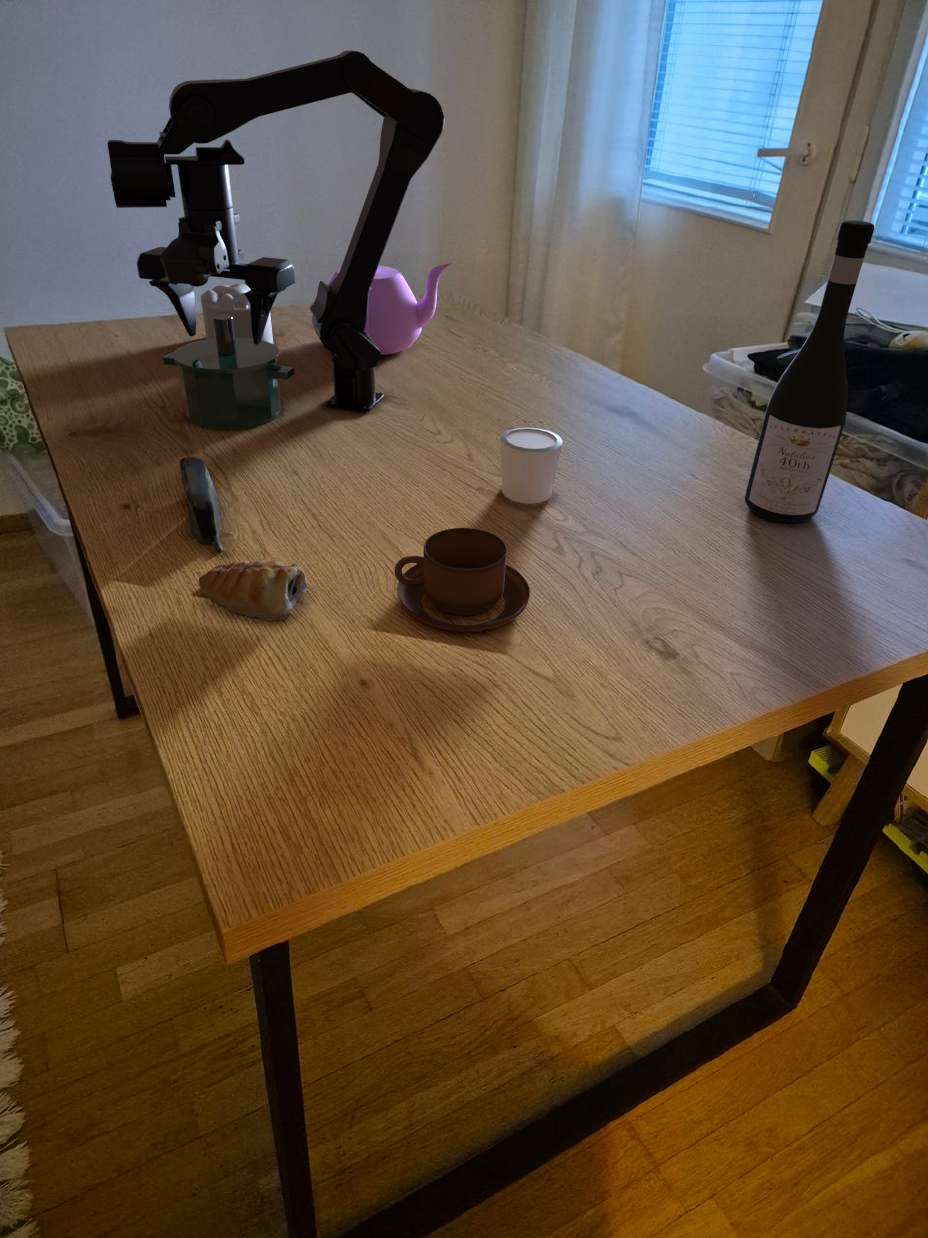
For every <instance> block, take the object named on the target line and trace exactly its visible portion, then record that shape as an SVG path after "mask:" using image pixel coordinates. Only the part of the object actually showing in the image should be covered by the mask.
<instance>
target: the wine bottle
mask: <svg viewBox="0 0 928 1238" xmlns="http://www.w3.org/2000/svg"><path fill="white" fill-rule="evenodd" d="M874 232H875V224H874V223H872V222H869V221H864V220H856V219H854V220H853V219H852V220H851V219H850V220H843V221H841V223H840V225H839V227H838V233H837V237H836V241H837V242H836V246H835V249H834V250H835V251H834V254H833V258H832V262H831V267H830V270H829V274H828V278H827V281H826V286H825V289H824V293H823V296H822V300H821V303H820V308H819V310H818V315H817V318H816V319H815V322H814V324H813V327H812V329H811V331H810V333H809V335H808V337H807V338H806V340H805V341H804V343H803V345H802V346H801V347H800V349H799V350H798V352H797V354H795V356H794V358H793V359H792V361H791V362H790V363H789V364H788V366H787V367H786V369H785V370H784V372H783V373H782V374H781V376H780V378H779V380H778V381H777V383H776V385H775V387H774V389H773V391H772V393H771V396H770V398H769V400H768V403H767V405H766V410H765V414H764V418H763V421H762V424H761V425H762V426H761V429H760V434H759V438H758V442H757V446H756V451H755V454H754V458H753V462H752V466H751V470H750V473H749V477H748V482H747V485H746V491H745V496H744V501H745V504H746V505H747V507H748V509H749V510H750V511H752V512H753V513H754V514H755V515H757V516H759V517H761V518H763V519H766V520H769V521H773V522H776V523H784V524H797V523H798V524H799V523H802V522H806V521H809V520H811V519H812V518H813V517H814V516H815V515H817V513H818V511H819V509H820V506H821V502H822V499H823V496H824V493H825V489H826V487H827V483H828V480H829V478H830V473H831V470H832V467H833V463H834V460H835V457H836V454H837V450H838V447H839V444H840V440H841V437H842V434H843V431H844V427H845V424H846V420H847V412H848V402H849V383H848V374H847V366H846V357H845V355H846V354H845V330H846V325H847V319H848V314H849V311H850V307H851V304H852V302H853V301H852V300H853V297H854V294H855V290H856V287H857V284H858V280H859V276H860V273H861V269H862V266H863V263H864V261H865V260H864V259H865V256H866V253H867V249H868V248H869V245H870V244H871V242H872V239H873V236H874Z"/></svg>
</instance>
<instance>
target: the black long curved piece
mask: <svg viewBox="0 0 928 1238" xmlns="http://www.w3.org/2000/svg"><path fill="white" fill-rule="evenodd" d="M179 467H180V474H181V480H182V486H183V493H184V495H185V500H186V504H187V510H188V511H187V512H188V515H189V516H188V518H189V523H190V528H191V529H190V530H191V532H192V535H193V537H194V538H195V539H196V540H197V541H198V542H199V543H201V544H202V545H203V544H210V545H212V546H213V547H214V550H215V552H216V553H217V554H218V553H219V554H220V553H223V551H224V549H223V547H222V544H221V542H220V535H221V530H220V522H221V521H220V520H221V514H220V508H219V501H218V500H219V499H218V495H217V492H216V488H215V486H214V482H213V481H212V479H211V476H210V473H209V470H208V467H207V465H206V463H205V461H204V460H203V459H202V458H199V457H196V456H187V457H182V458H180V460H179Z"/></svg>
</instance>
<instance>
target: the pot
mask: <svg viewBox="0 0 928 1238" xmlns="http://www.w3.org/2000/svg"><path fill="white" fill-rule="evenodd" d="M174 352H175V351H171V352H169V353H168V354H165V355H164V356H162V362H163V365H167V366H173V367H177V369H178V377H179V382H180V388H181V395H182V401H183V407H184V408H183V409H184V414H186V419H188V421H190V422H191V423H192V424H194V425H196V426H199V427H203V428H207V429H214V430H241V429H242V430H243V429H249V428H255V427H258V426H262V425H265V424H268V423H271V422H272V421H274V420H275V419H277V418H278V417H279V416H280V414H281V412H282V411H281V410H282V409H281V408H282V407H281V406H282V403H281V402H282V401H281V393H280V381H289V380H290V379H291V378H293V377H294V376H295V375H296V372H295V371H296V370H295V367H294V366H285V365H278V361H276V362H275V363H274V364H272V365H270V366H268V367H265V368H262V369H258V370H254V371H249V372H243V373H233V374H209V373H200V372H194V371H190V370H186V369H184V368H181V367H180V366H178V365H177V364H176V363H175V362H174V356H173V355H174ZM279 380H280V381H279Z"/></svg>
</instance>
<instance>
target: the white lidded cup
mask: <svg viewBox="0 0 928 1238" xmlns="http://www.w3.org/2000/svg"><path fill="white" fill-rule="evenodd" d="M499 444H500V472H501V473H500V475H501V477H500V478H501V493H502V494H503V496H504V497H505V498H507V499H508V500H510V501H512V502H517V503H521V504H529V505H530V504H531V505H532V504H541V503H543V502H546V501H548V500H549V499H551V497H552V495H553V490H554V485H555V480H556V476H557V472H558V471H557V470H558V466H559V460H560V455H561V452H562V446H563V439H562V438H561V437H560V435H558V434H557V433H555V432H553V431H550V430H547V429H543V428H536V427H519V428H518V427H517V428H512V429H508V430H506V431H505V432H503V433H501V435H500V439H499Z"/></svg>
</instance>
